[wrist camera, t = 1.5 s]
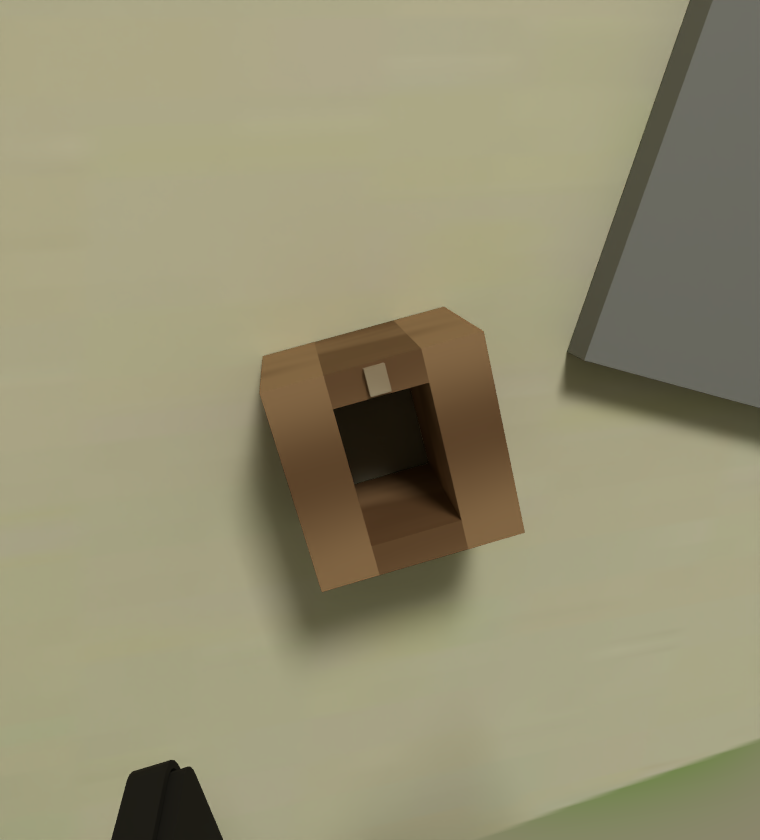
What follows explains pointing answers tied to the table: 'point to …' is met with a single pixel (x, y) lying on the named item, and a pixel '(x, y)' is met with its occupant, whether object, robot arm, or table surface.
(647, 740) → the table surface
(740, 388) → the plate
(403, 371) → the open wooden cubby
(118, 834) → the robot arm
